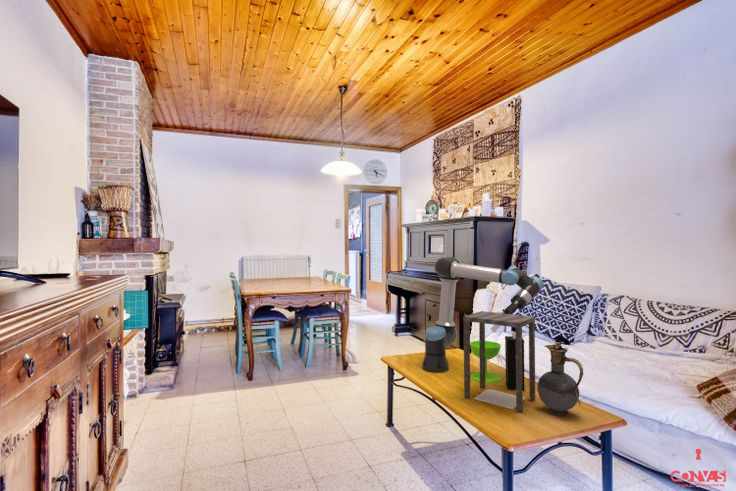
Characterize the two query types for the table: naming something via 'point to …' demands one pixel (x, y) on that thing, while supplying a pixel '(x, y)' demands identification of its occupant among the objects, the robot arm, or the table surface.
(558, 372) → the pitcher
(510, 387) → the tissue box
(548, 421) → the table surface
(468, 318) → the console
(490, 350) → the wineglass
